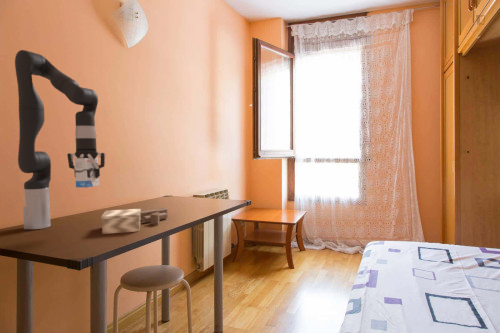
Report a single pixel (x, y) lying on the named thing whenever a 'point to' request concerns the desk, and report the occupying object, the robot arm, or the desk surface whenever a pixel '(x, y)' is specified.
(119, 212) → the chevron patterned box
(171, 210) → the desk surface
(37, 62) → the robot arm
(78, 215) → the desk surface
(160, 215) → the wooden block set
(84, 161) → the ink box
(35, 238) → the desk surface
